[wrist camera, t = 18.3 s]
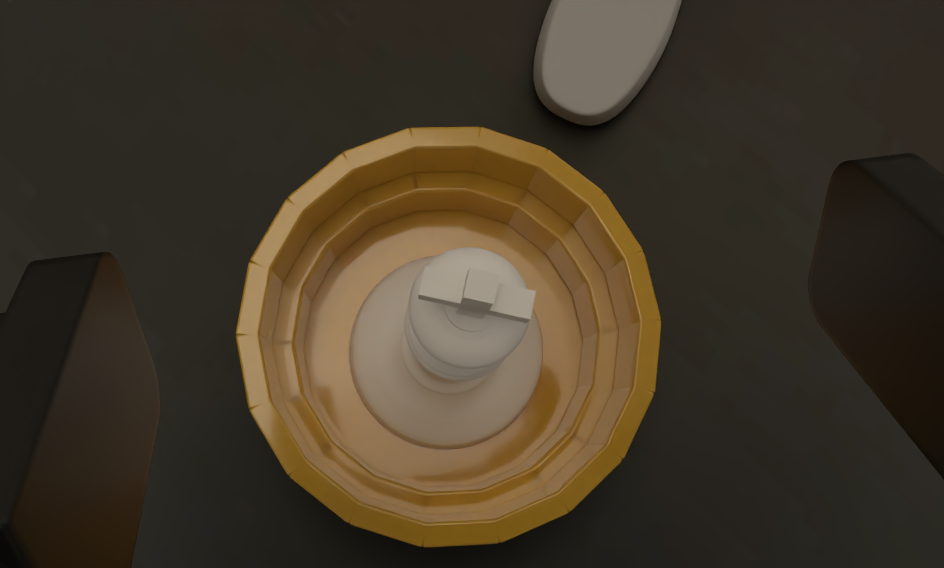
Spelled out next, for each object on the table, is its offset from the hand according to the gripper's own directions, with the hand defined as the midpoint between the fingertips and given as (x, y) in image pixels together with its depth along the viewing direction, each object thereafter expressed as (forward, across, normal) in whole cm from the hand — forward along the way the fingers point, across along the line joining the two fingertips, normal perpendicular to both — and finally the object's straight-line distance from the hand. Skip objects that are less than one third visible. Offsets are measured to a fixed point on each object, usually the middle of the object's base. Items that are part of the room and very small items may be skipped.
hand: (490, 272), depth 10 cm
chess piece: (+9, 0, +9) cm, 13 cm away
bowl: (+10, 0, +9) cm, 13 cm away
